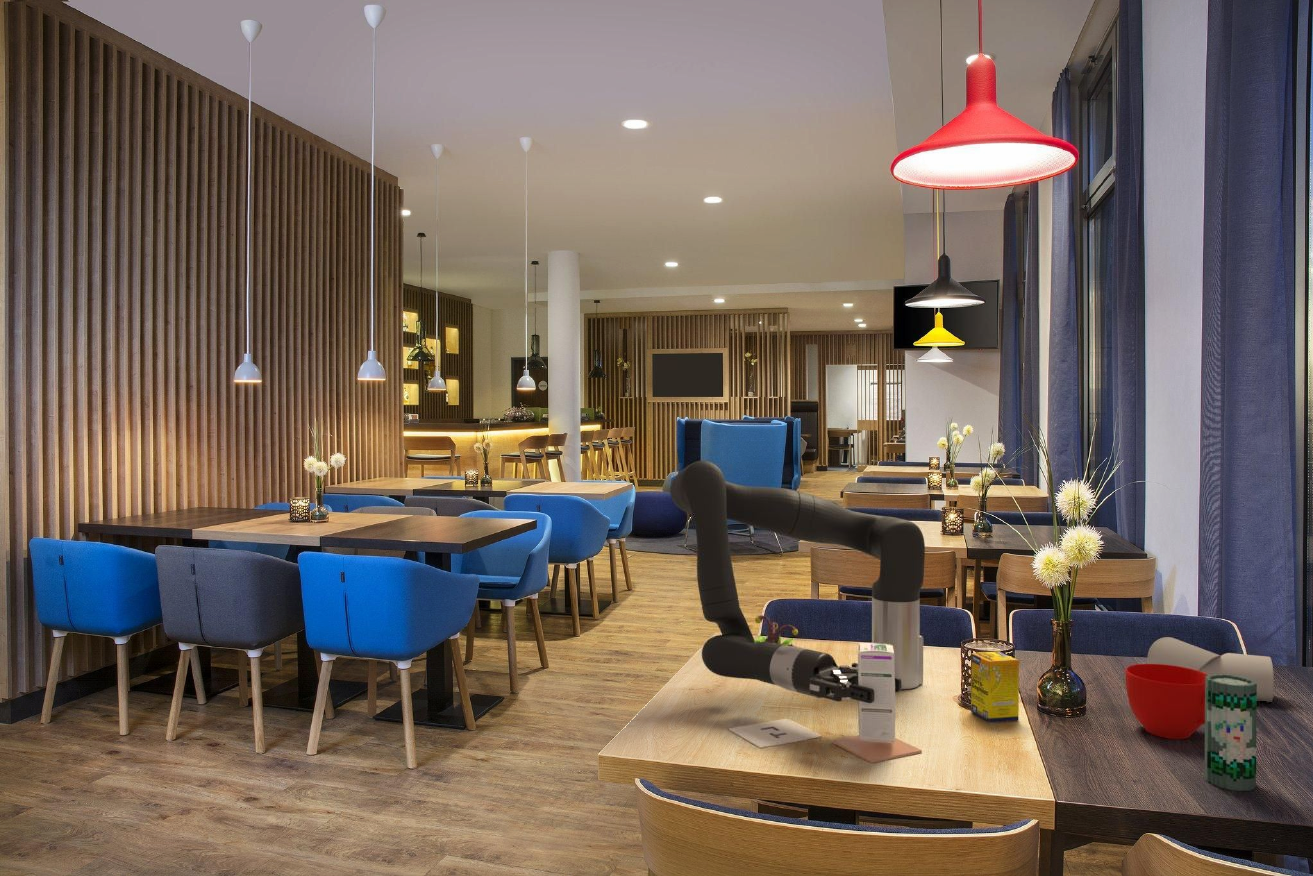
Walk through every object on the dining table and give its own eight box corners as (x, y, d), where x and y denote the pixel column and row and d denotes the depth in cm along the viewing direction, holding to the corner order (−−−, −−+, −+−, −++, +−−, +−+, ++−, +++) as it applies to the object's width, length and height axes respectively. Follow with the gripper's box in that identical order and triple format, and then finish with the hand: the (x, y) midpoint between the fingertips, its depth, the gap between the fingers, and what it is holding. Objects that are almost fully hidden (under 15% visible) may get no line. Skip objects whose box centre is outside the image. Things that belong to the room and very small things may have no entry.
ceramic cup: (1205, 759, 143) (1206, 695, 142) (1108, 727, 158) (1108, 669, 157) (1254, 745, 149) (1255, 684, 148) (1155, 715, 164) (1156, 660, 163)
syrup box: (895, 743, 145) (896, 652, 144) (857, 740, 146) (858, 650, 145) (893, 731, 150) (894, 643, 150) (857, 728, 151) (857, 641, 151)
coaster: (880, 733, 155) (880, 731, 155) (921, 752, 146) (921, 750, 146) (832, 742, 150) (832, 740, 150) (871, 763, 141) (871, 760, 141)
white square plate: (787, 719, 162) (787, 718, 162) (821, 737, 153) (821, 735, 153) (728, 729, 157) (728, 728, 157) (760, 748, 148) (760, 746, 148)
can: (1210, 787, 132) (1211, 683, 131) (1201, 772, 137) (1202, 672, 137) (1259, 793, 130) (1260, 687, 129) (1248, 777, 135) (1249, 676, 135)
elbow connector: (1150, 690, 175) (1275, 704, 166) (1150, 634, 177) (1274, 645, 168) (1146, 687, 191) (1260, 699, 182) (1146, 635, 193) (1259, 645, 184)
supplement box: (970, 712, 166) (970, 652, 165) (1000, 710, 167) (1000, 650, 167) (988, 723, 160) (988, 661, 160) (1019, 721, 161) (1019, 659, 161)
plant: (727, 653, 209) (727, 604, 209) (813, 656, 207) (813, 607, 207) (721, 678, 190) (721, 624, 189) (817, 681, 187) (817, 626, 187)
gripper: (778, 656, 153) (863, 676, 141) (826, 641, 163) (909, 659, 151) (777, 701, 153) (863, 724, 141) (825, 683, 163) (909, 704, 152)
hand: (887, 690), depth 146 cm, fingers closed on syrup box, 8 cm apart
